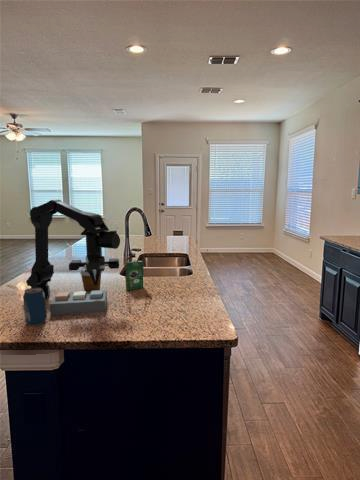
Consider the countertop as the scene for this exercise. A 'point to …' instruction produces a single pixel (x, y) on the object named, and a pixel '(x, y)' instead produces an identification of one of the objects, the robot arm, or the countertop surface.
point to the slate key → (96, 294)
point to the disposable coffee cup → (89, 281)
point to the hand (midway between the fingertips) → (95, 285)
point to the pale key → (79, 295)
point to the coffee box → (134, 275)
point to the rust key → (62, 296)
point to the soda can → (34, 306)
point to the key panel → (78, 305)
